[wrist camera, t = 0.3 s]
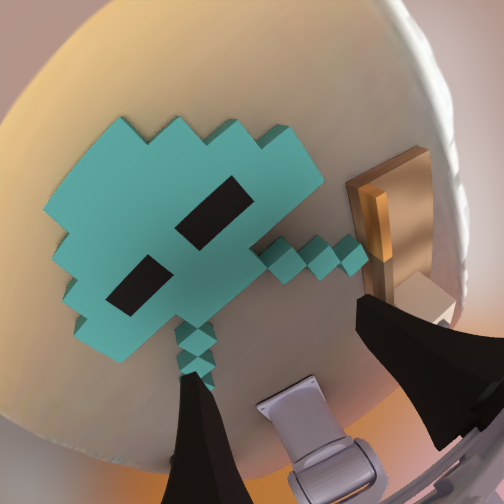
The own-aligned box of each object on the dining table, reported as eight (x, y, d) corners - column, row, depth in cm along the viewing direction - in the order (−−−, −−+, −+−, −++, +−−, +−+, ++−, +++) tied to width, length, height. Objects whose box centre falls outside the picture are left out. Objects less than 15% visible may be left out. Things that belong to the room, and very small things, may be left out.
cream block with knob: (416, 294, 29) (454, 327, 24) (386, 318, 29) (424, 356, 23) (417, 270, 27) (461, 305, 21) (385, 295, 27) (428, 336, 21)
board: (421, 282, 31) (439, 297, 28) (368, 322, 30) (386, 341, 28) (417, 146, 21) (446, 155, 18) (345, 183, 20) (375, 197, 18)
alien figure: (353, 247, 25) (211, 45, 13) (368, 259, 23) (219, 36, 11) (194, 381, 26) (11, 266, 15) (198, 398, 24) (0, 283, 13)
